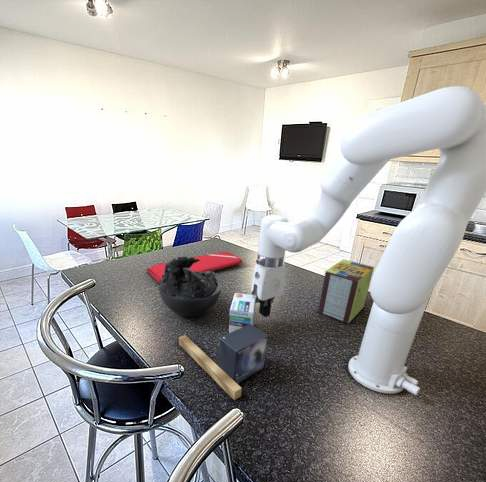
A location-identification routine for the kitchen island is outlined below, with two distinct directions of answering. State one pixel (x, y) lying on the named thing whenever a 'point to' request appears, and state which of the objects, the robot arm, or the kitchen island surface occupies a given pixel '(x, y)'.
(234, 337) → the small box
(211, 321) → the kitchen island surface
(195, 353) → the maple rail
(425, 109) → the robot arm
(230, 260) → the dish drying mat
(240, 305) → the light bulb box
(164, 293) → the coal bowl
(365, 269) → the protein box
